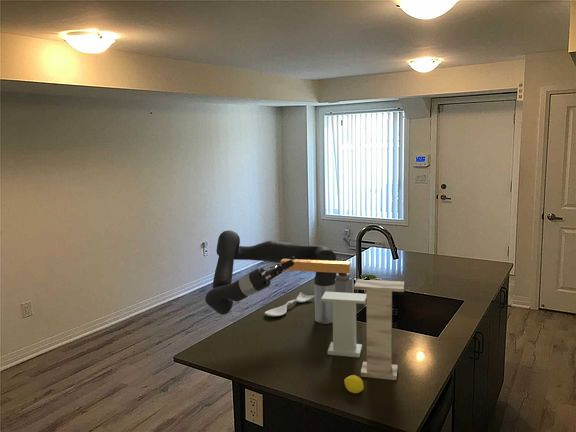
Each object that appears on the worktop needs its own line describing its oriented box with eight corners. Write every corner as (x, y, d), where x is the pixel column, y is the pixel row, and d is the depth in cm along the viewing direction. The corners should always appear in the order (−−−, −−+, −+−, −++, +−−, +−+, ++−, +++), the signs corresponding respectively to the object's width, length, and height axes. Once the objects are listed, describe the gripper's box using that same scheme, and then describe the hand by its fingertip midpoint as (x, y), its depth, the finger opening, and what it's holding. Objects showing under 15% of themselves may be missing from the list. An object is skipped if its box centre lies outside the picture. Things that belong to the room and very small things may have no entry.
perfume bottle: (340, 302, 235) (339, 267, 232) (352, 305, 231) (352, 269, 228) (333, 306, 229) (332, 270, 226) (345, 309, 225) (345, 272, 222)
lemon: (366, 392, 154) (368, 377, 153) (357, 399, 150) (359, 384, 149) (348, 383, 158) (349, 368, 157) (339, 390, 154) (340, 375, 153)
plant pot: (357, 295, 245) (357, 278, 243) (361, 289, 253) (361, 273, 252) (375, 296, 241) (375, 280, 240) (378, 290, 250) (378, 274, 249)
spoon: (315, 300, 239) (315, 294, 239) (276, 321, 214) (275, 314, 214) (301, 297, 245) (301, 291, 244) (260, 317, 220) (260, 310, 219)
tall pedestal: (357, 364, 171) (356, 279, 166) (403, 369, 167) (404, 281, 162) (354, 375, 164) (353, 286, 158) (402, 380, 159) (403, 288, 154)
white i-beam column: (326, 344, 188) (325, 291, 184) (367, 348, 184) (366, 293, 180) (322, 354, 181) (321, 298, 177) (364, 357, 176) (364, 301, 173)
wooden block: (283, 267, 170) (282, 258, 169) (350, 270, 163) (350, 261, 163) (280, 269, 167) (280, 261, 166) (349, 273, 160) (349, 264, 160)
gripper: (265, 284, 179) (304, 264, 173) (253, 297, 165) (294, 275, 160) (255, 267, 178) (293, 246, 173) (242, 278, 165) (283, 256, 160)
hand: (293, 260), depth 166 cm, fingers closed on wooden block, 3 cm apart
